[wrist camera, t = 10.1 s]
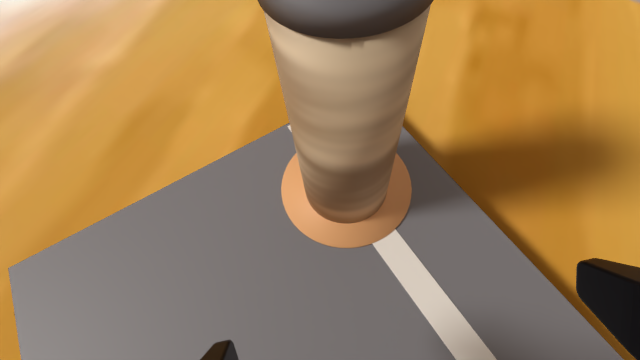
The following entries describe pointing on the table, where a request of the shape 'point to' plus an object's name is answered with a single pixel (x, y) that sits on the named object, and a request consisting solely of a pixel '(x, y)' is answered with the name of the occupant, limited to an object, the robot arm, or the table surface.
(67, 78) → the table surface
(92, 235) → the subfloor panel
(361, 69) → the beige cylindrical canister
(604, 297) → the robot arm
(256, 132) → the table surface
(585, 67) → the table surface
